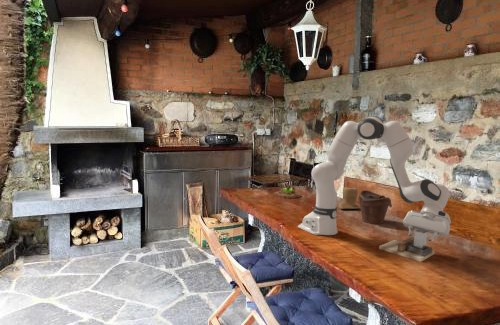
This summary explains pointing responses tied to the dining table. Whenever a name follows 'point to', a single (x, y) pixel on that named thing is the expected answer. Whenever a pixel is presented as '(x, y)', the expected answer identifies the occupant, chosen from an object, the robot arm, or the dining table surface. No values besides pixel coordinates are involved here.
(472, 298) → the dining table surface
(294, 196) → the plant
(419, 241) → the grey square block
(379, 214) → the brown tapered bucket
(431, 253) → the beige board with divider
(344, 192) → the tan boot
